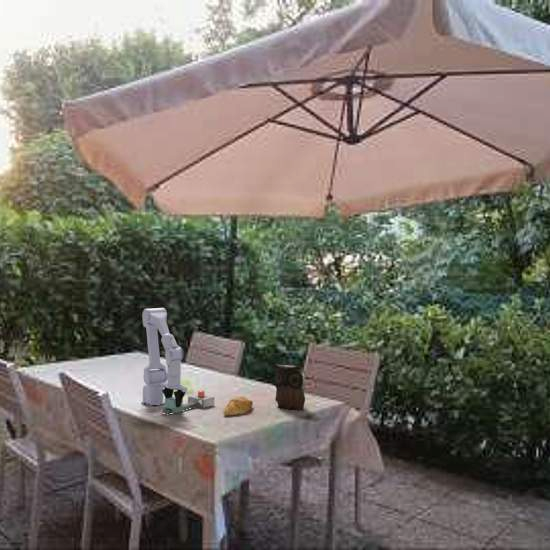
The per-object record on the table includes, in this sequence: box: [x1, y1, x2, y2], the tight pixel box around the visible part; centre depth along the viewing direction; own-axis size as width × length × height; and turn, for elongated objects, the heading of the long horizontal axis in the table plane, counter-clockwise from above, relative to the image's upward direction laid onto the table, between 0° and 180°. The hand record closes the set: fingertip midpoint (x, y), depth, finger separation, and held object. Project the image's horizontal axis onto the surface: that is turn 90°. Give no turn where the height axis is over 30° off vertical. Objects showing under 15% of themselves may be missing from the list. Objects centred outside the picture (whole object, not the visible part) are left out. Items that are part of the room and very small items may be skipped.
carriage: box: [164, 395, 184, 414], centre depth 315 cm, size 5×6×6 cm
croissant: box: [223, 396, 254, 416], centre depth 318 cm, size 21×10×8 cm, turn 150°
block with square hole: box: [187, 393, 215, 409], centre depth 328 cm, size 10×7×4 cm
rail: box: [162, 402, 199, 415], centre depth 318 cm, size 3×19×2 cm, turn 142°
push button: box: [197, 390, 206, 398], centre depth 328 cm, size 3×3×4 cm
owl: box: [274, 363, 306, 411], centre depth 325 cm, size 13×13×20 cm
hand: (173, 405), depth 315 cm, fingers closed on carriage, 5 cm apart
